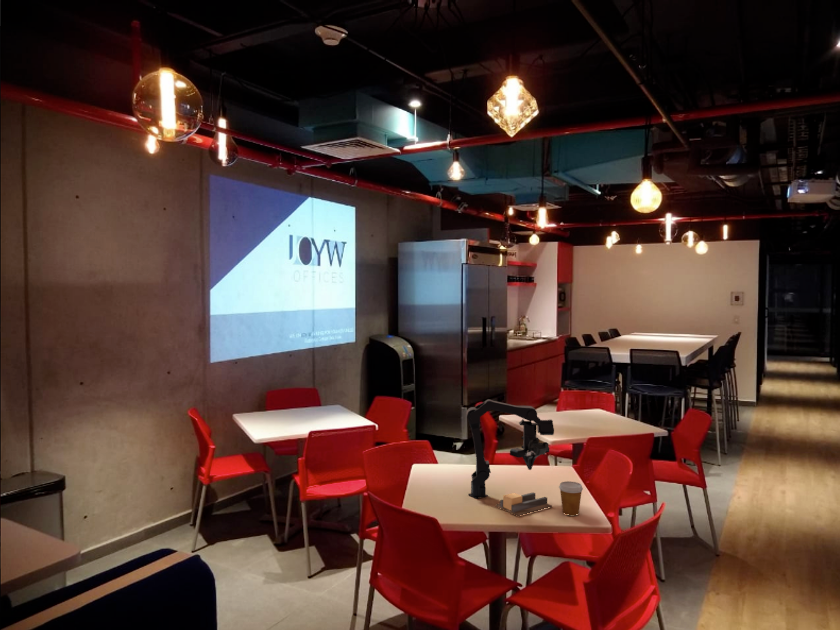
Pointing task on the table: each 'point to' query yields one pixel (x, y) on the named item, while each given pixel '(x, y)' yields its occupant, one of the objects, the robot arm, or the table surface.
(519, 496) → the block
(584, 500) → the table surface
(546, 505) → the chute
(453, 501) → the table surface
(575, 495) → the disposable coffee cup
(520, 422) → the robot arm
